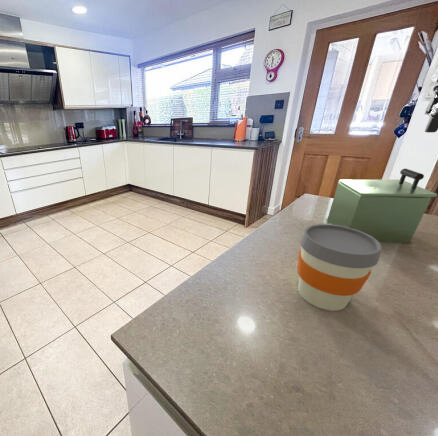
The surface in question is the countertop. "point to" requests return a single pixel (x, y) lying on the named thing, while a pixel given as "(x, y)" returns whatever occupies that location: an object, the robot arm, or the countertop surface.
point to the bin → (378, 214)
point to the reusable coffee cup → (334, 264)
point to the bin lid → (390, 186)
